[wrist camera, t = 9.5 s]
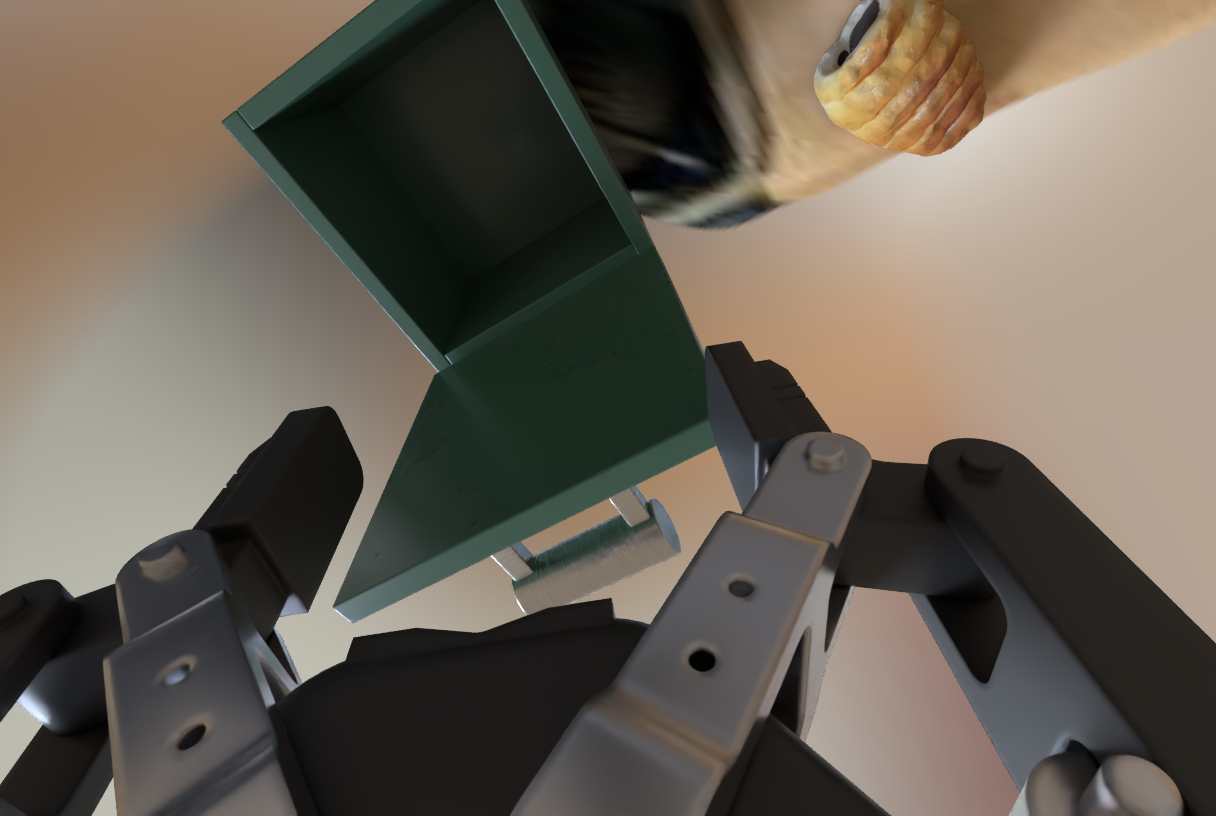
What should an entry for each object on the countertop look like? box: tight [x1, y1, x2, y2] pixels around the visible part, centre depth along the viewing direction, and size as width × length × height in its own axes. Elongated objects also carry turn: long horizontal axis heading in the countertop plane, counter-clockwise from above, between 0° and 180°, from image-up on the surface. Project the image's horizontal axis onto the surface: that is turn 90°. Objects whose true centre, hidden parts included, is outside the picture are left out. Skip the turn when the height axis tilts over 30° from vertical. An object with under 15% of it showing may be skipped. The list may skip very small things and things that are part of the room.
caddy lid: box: [333, 247, 717, 623], centre depth 21 cm, size 13×12×5 cm
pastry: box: [814, 0, 986, 156], centre depth 30 cm, size 9×7×4 cm
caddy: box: [222, 0, 656, 373], centre depth 28 cm, size 13×12×11 cm
